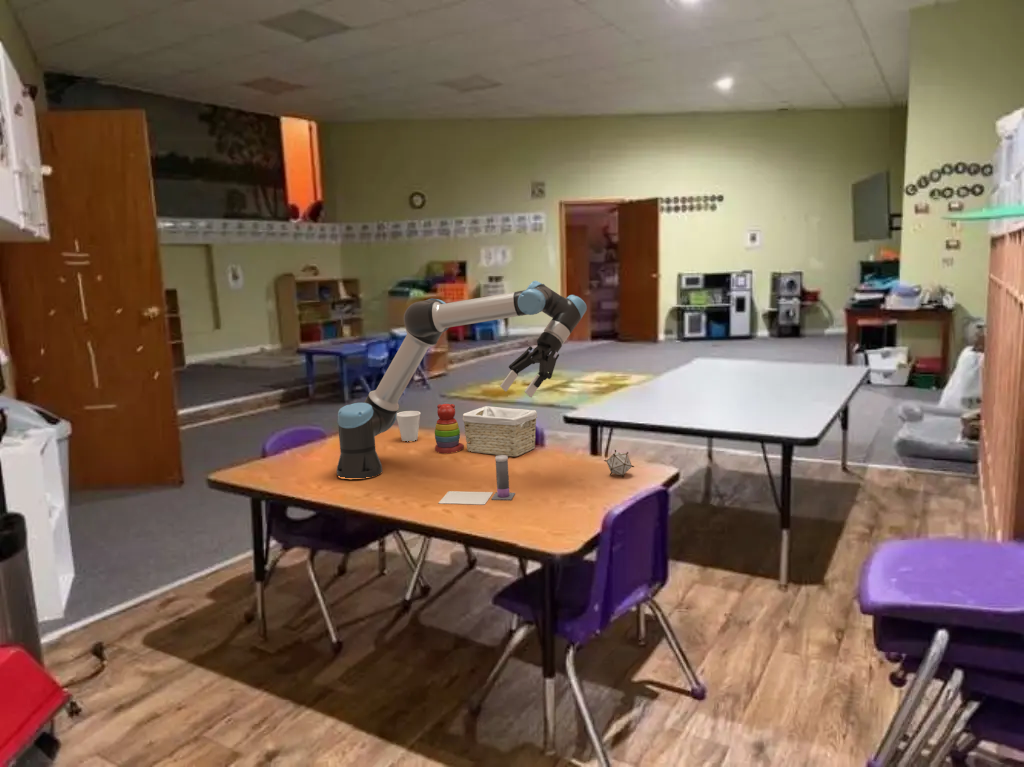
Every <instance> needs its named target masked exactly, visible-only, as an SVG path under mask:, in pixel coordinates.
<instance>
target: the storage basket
mask: <svg viewBox="0 0 1024 767" xmlns="http://www.w3.org/2000/svg"><path fill="white" fill-rule="evenodd" d="M537 418H538V412H537V410H535V409H532V410H531V409H522V408H510V407H497V406H489V405H485V406H482V407H479V408H476V409H473V410H470V411H467V412H465V413H463V414H462V422H463V424H464V434H465V435H464V436H465V441H466V449H467V451H468V452H470V451H471V453H479V454H484V455H487V454H488V455H494V456H498V455H507V456H508V457H518V456H521V455H524V454H525V453H528V452H530V451H532V450H534V449H535V447H536V431H537V430H536V429H537V427H536V425H537Z"/></svg>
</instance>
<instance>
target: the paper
mask: <svg viewBox="0 0 1024 767" xmlns="http://www.w3.org/2000/svg"><path fill="white" fill-rule="evenodd" d="M493 493H494V492H493V491H457V490H454V491H453V490H451V491H450V490H449V491H448V490H447V492H446V494H445V495H444V496H443V497H442V498H441V499H440V500H439V501H438V504H443V505H473V506H474V505H475V506H476V505H477V506H486V504H487V502H488V501H489V499H490V498H492V496H493V495H494V494H493Z"/></svg>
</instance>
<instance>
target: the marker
mask: <svg viewBox="0 0 1024 767" xmlns="http://www.w3.org/2000/svg"><path fill="white" fill-rule="evenodd" d="M494 458H495V460H494V461H495V471H496V472H495V475H496V491H497V496H498V497H508V496H509V493H510V481H509V477H510V476H509V475H510V474H509V456H507V455H495V457H494Z"/></svg>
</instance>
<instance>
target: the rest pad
mask: <svg viewBox="0 0 1024 767" xmlns="http://www.w3.org/2000/svg"><path fill="white" fill-rule="evenodd" d="M515 496H516V492H509V496H508V497H498V496H497V492H496V491H495V493H494V494H493V495H492V496H491V500H492V501H513V499H514V498H515ZM512 498H513V499H512Z"/></svg>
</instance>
